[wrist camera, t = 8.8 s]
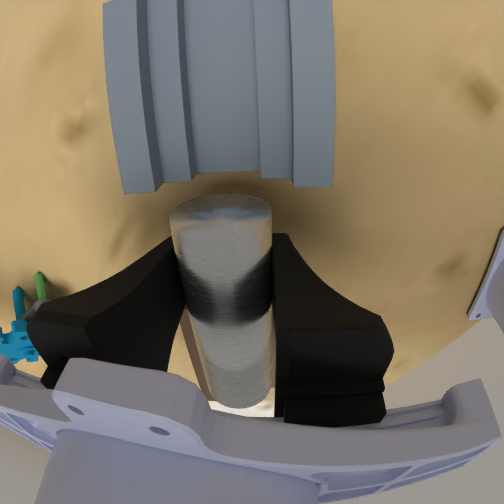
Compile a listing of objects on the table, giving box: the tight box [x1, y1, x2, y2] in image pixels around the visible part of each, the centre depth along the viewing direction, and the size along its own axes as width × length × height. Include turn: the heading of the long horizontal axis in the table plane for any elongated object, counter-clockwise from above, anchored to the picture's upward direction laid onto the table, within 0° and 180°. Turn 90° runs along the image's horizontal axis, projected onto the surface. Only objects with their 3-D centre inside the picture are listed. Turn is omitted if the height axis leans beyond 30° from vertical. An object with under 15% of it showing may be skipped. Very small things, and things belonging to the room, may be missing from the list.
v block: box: [103, 0, 335, 194], centre depth 10 cm, size 8×8×4 cm
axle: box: [169, 193, 272, 409], centre depth 13 cm, size 10×4×4 cm, turn 2°
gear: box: [0, 273, 52, 364], centre depth 18 cm, size 11×6×10 cm
